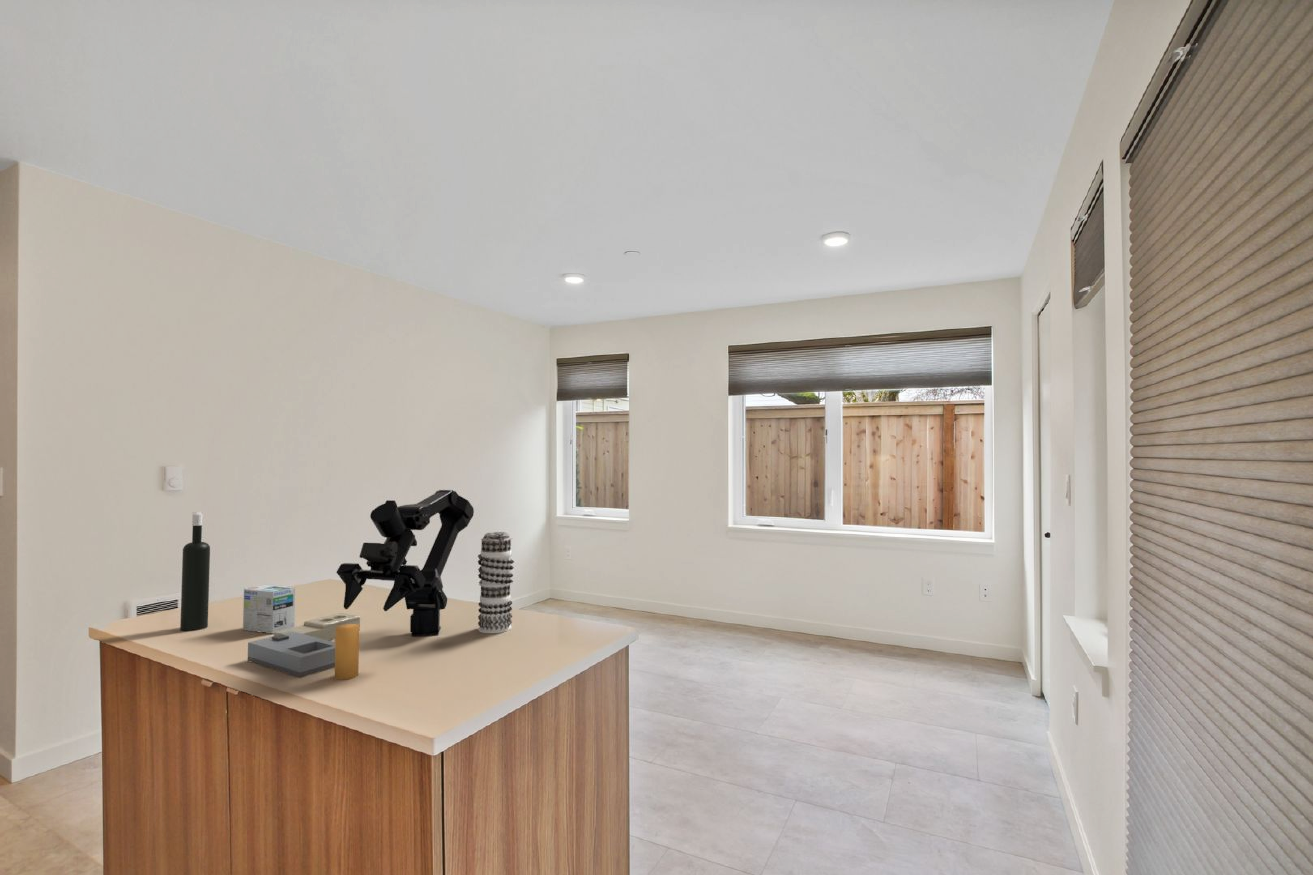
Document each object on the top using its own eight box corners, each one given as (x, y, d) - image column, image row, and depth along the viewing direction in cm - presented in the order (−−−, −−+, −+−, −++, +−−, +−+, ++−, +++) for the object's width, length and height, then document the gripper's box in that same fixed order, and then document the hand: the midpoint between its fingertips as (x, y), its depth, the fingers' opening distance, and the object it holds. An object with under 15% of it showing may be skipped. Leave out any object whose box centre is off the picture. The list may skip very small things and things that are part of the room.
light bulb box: (295, 628, 164) (296, 586, 165) (272, 634, 158) (273, 591, 158) (265, 624, 168) (266, 583, 168) (241, 630, 161) (242, 588, 162)
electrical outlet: (274, 627, 148) (342, 612, 164) (273, 645, 148) (341, 628, 164) (293, 631, 145) (360, 615, 161) (292, 649, 145) (360, 631, 161)
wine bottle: (183, 626, 165) (187, 511, 166) (209, 624, 167) (213, 511, 168) (177, 632, 159) (181, 513, 160) (205, 629, 162) (208, 512, 163)
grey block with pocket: (346, 663, 136) (346, 642, 136) (300, 677, 127) (300, 654, 128) (293, 649, 146) (293, 629, 146) (247, 660, 138) (248, 639, 138)
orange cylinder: (360, 671, 131) (361, 623, 132) (355, 678, 127) (356, 629, 127) (337, 673, 130) (338, 624, 131) (331, 680, 126) (333, 630, 126)
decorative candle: (472, 627, 166) (473, 532, 167) (506, 622, 171) (507, 530, 172) (482, 635, 158) (484, 536, 159) (518, 630, 163) (519, 533, 164)
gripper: (342, 527, 142) (307, 586, 131) (420, 529, 139) (390, 589, 128) (363, 557, 149) (331, 615, 138) (436, 559, 147) (410, 618, 135)
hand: (364, 609), depth 135 cm, fingers open, 9 cm apart
